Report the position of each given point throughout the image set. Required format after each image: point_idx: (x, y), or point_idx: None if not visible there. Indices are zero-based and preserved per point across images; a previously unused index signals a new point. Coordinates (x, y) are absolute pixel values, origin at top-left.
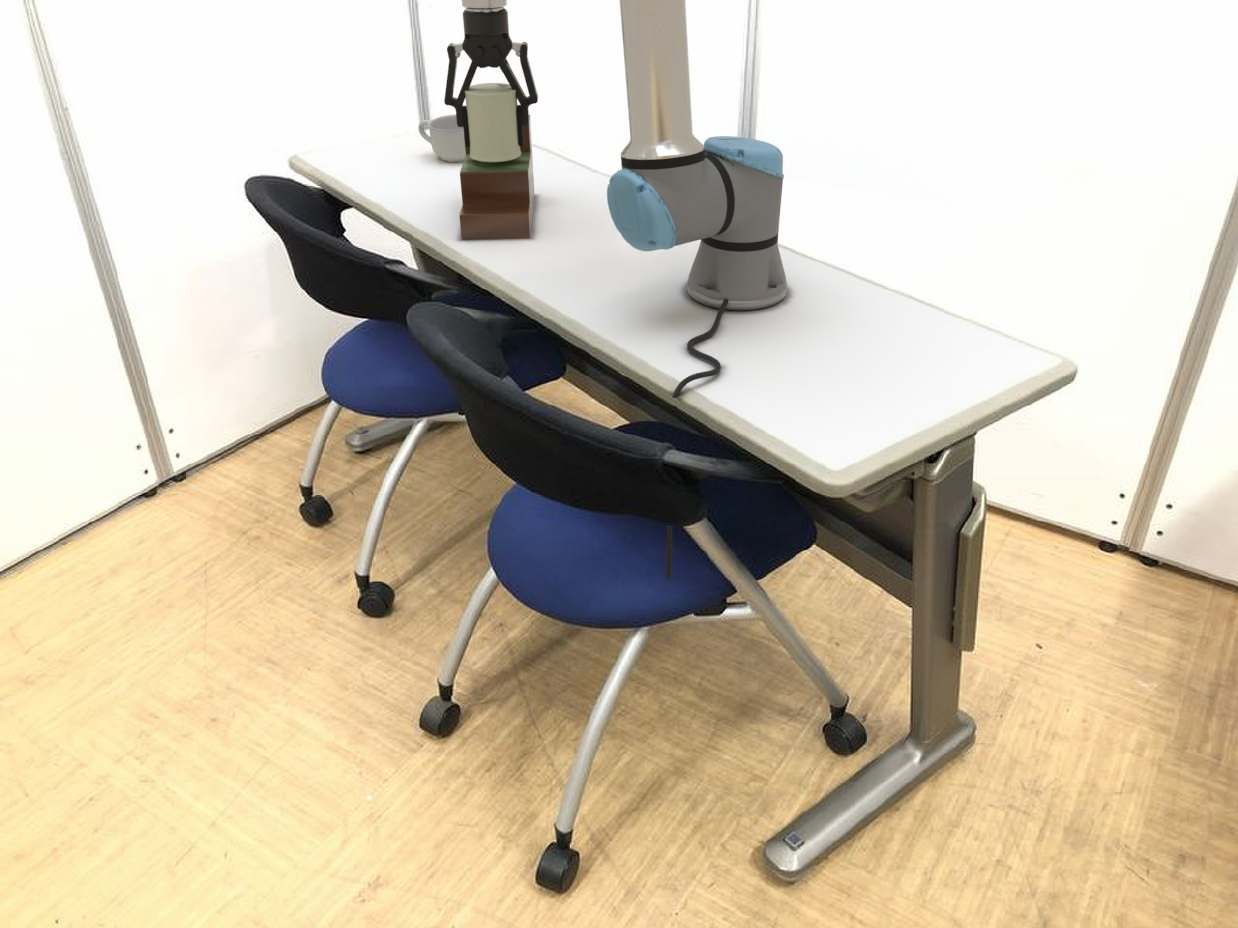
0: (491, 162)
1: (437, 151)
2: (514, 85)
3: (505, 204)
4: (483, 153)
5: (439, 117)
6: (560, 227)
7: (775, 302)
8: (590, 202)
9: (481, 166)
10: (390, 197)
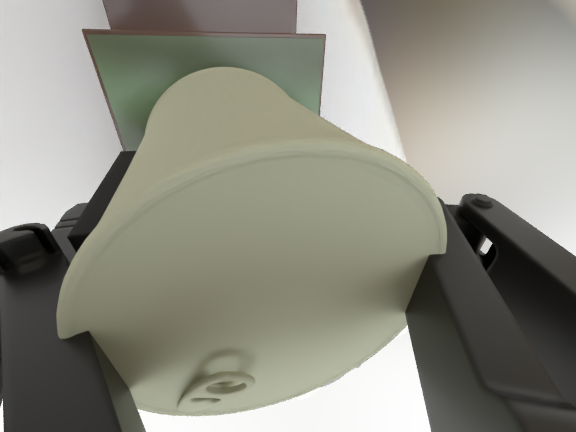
0: None
1: None
2: (47, 381)
3: (182, 17)
4: (264, 81)
5: (342, 375)
6: (40, 22)
7: None
8: (44, 203)
9: None
10: None
